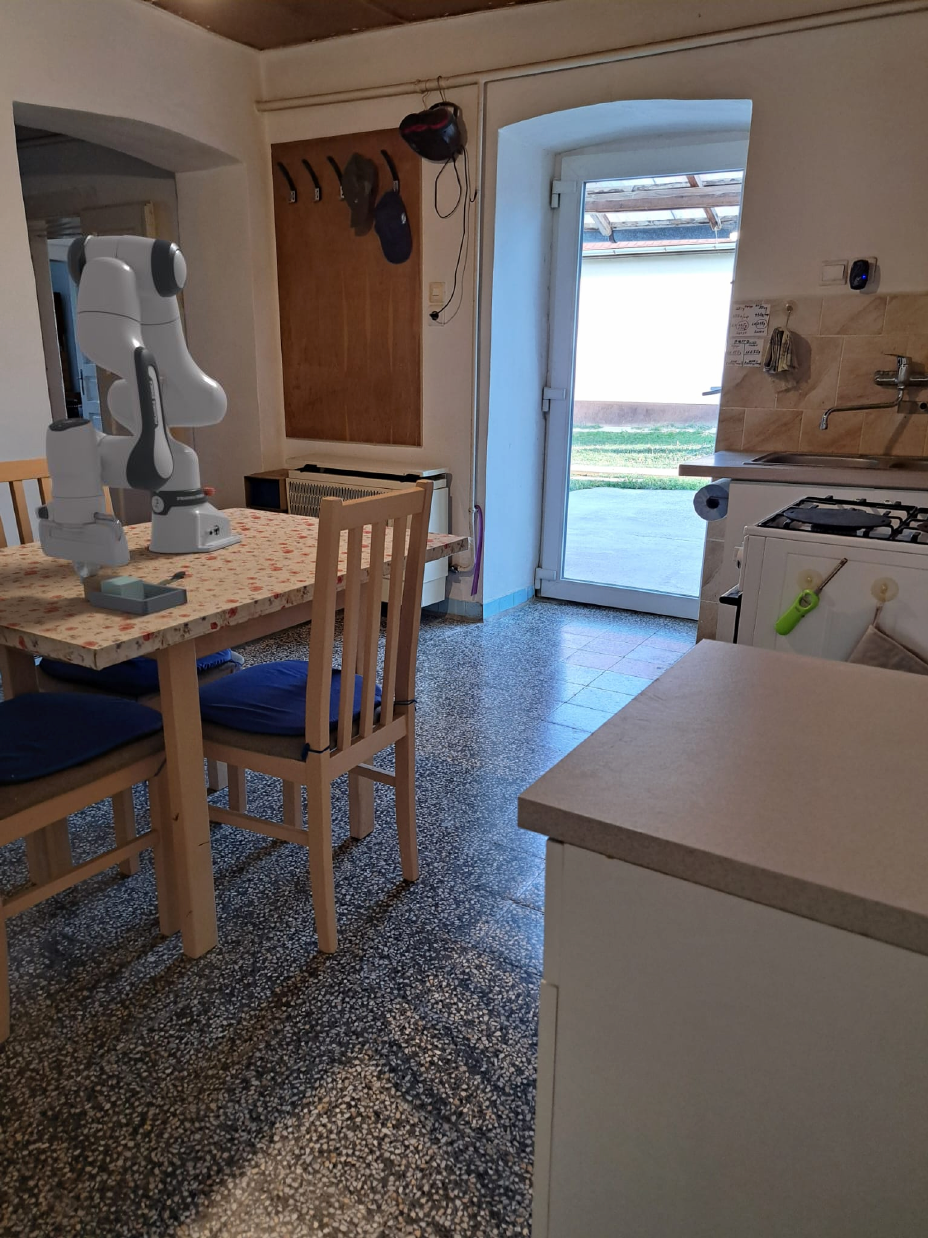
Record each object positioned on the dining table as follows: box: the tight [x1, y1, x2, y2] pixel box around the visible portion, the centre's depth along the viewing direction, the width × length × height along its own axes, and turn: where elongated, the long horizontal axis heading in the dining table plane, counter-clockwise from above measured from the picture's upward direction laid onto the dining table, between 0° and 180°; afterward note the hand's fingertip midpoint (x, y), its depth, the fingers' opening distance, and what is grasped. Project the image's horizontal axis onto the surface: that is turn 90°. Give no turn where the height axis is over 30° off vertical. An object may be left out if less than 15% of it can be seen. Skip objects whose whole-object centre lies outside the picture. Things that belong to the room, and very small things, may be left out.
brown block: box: [82, 572, 124, 601], centre depth 155 cm, size 5×5×4 cm
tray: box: [88, 581, 188, 616], centre depth 151 cm, size 10×14×2 cm
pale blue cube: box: [101, 575, 145, 600], centre depth 153 cm, size 5×5×4 cm
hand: (89, 584), depth 157 cm, fingers closed
